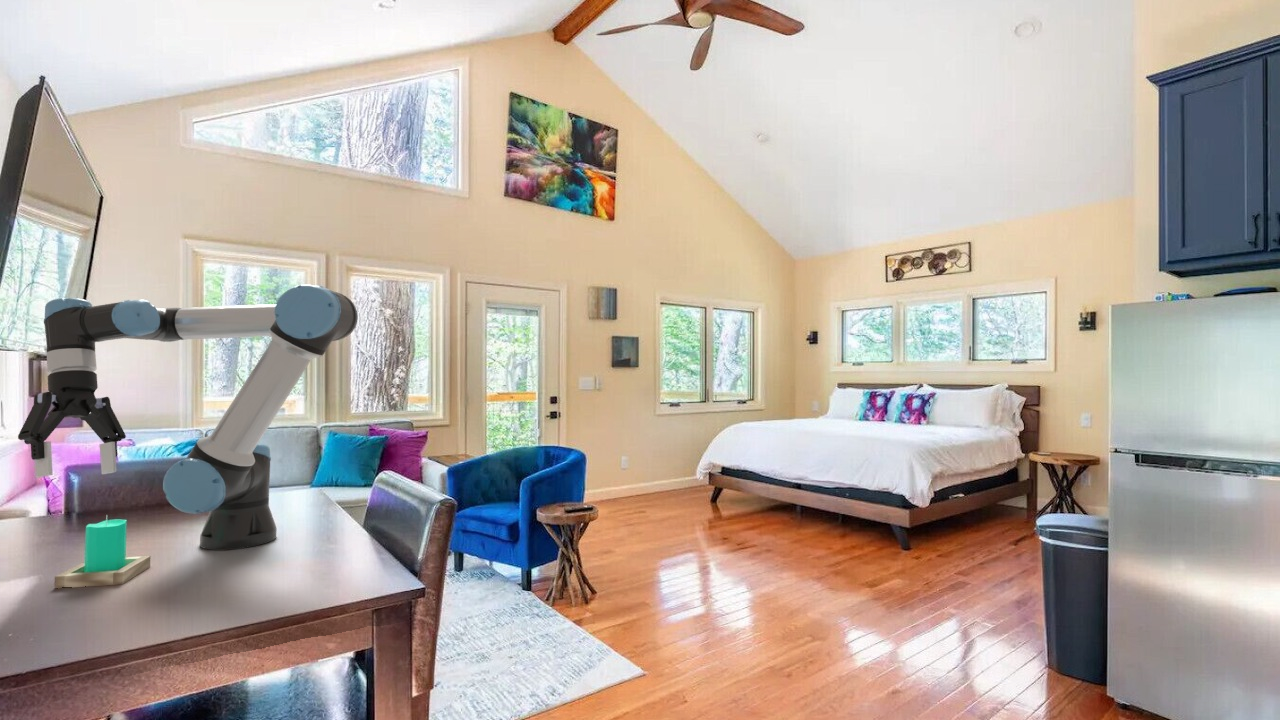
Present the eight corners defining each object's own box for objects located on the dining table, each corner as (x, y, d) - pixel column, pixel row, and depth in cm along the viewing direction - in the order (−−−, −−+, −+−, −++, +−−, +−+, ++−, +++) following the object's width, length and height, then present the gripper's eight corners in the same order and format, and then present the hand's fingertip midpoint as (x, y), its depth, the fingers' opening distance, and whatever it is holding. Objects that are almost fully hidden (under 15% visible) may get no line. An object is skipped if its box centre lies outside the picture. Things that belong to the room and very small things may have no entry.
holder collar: (150, 566, 125) (150, 555, 125) (122, 584, 115) (122, 572, 115) (88, 570, 122) (88, 559, 122) (54, 588, 112) (54, 576, 112)
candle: (123, 570, 123) (125, 510, 123) (126, 577, 119) (128, 515, 119) (83, 576, 119) (85, 514, 119) (84, 584, 114) (87, 520, 115)
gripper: (110, 382, 139) (116, 475, 136) (-12, 369, 115) (-8, 481, 112) (141, 376, 139) (148, 468, 136) (26, 361, 114) (31, 473, 111)
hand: (78, 474), depth 124 cm, fingers open, 13 cm apart
